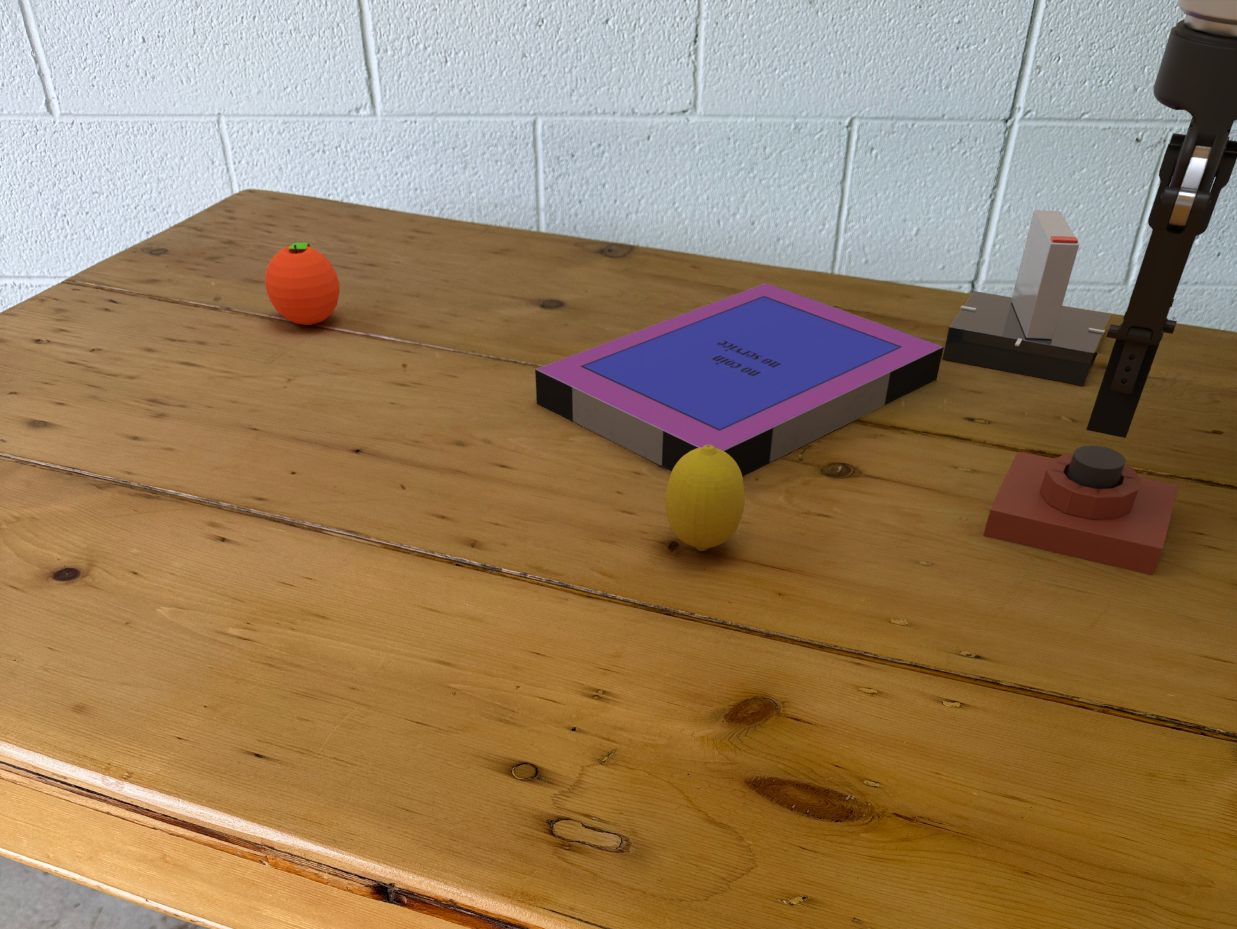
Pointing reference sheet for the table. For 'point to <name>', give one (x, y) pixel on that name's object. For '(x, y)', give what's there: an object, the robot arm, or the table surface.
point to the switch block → (1082, 514)
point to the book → (738, 378)
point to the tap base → (1024, 340)
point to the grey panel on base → (1044, 273)
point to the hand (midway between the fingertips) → (1107, 429)
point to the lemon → (705, 497)
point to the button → (1096, 467)
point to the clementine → (302, 284)
